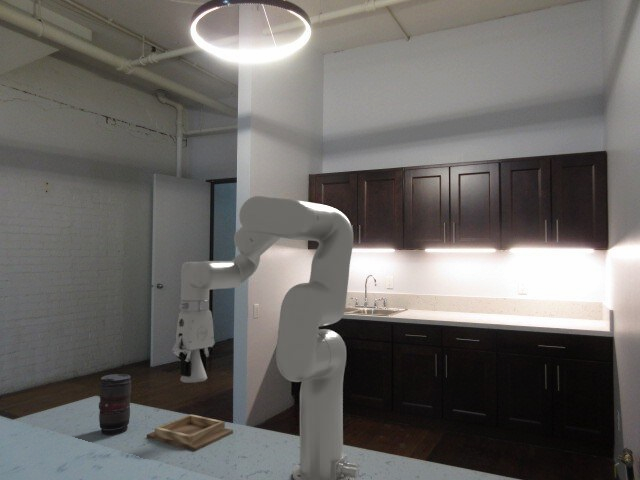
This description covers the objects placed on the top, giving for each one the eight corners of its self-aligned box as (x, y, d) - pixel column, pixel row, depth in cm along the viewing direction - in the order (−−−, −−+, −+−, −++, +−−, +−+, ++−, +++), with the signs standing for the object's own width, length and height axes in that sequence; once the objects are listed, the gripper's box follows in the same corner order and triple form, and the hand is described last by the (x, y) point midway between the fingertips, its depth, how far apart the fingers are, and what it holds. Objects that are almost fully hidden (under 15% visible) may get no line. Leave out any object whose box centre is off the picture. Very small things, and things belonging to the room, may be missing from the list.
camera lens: (118, 437, 123) (119, 380, 124) (92, 435, 125) (93, 379, 126) (136, 426, 131) (137, 373, 132) (111, 425, 133) (112, 372, 134)
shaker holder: (232, 433, 126) (232, 422, 126) (195, 451, 114) (195, 439, 114) (185, 422, 135) (186, 412, 135) (146, 437, 123) (146, 427, 123)
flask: (179, 384, 120) (180, 346, 121) (180, 377, 127) (181, 341, 128) (207, 382, 122) (208, 344, 123) (207, 376, 129) (207, 340, 130)
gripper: (180, 310, 117) (179, 382, 116) (226, 304, 131) (225, 369, 130) (160, 308, 120) (159, 378, 119) (207, 303, 135) (206, 365, 134)
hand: (193, 372), depth 125 cm, fingers closed on flask, 5 cm apart
